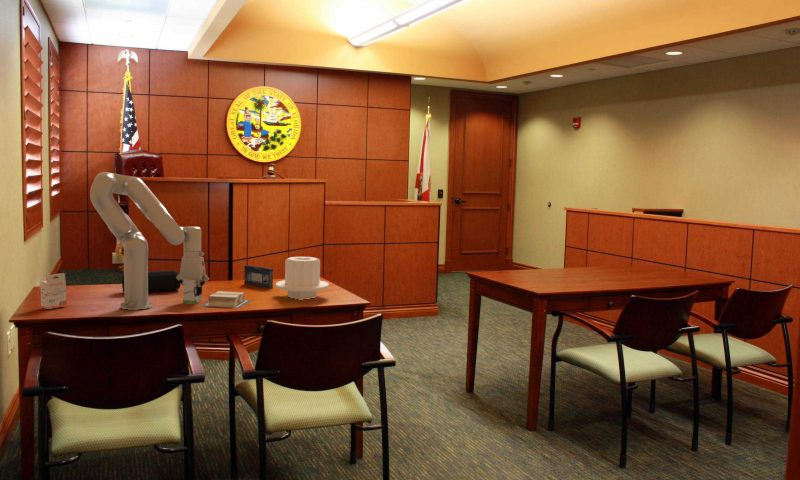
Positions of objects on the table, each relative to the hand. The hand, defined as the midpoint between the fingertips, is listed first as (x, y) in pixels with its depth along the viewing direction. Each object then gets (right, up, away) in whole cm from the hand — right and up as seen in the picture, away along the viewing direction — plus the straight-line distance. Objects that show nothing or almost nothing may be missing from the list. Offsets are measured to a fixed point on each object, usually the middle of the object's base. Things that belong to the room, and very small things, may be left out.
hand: (192, 294), depth 300 cm
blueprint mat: (+15, -5, +1) cm, 16 cm away
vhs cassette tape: (+19, 0, +49) cm, 52 cm away
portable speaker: (-28, -1, +25) cm, 37 cm away
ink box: (0, -5, +1) cm, 5 cm away
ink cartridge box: (-54, -5, -15) cm, 56 cm away
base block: (+15, -4, +1) cm, 16 cm away
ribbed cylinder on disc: (+45, -4, +23) cm, 51 cm away
